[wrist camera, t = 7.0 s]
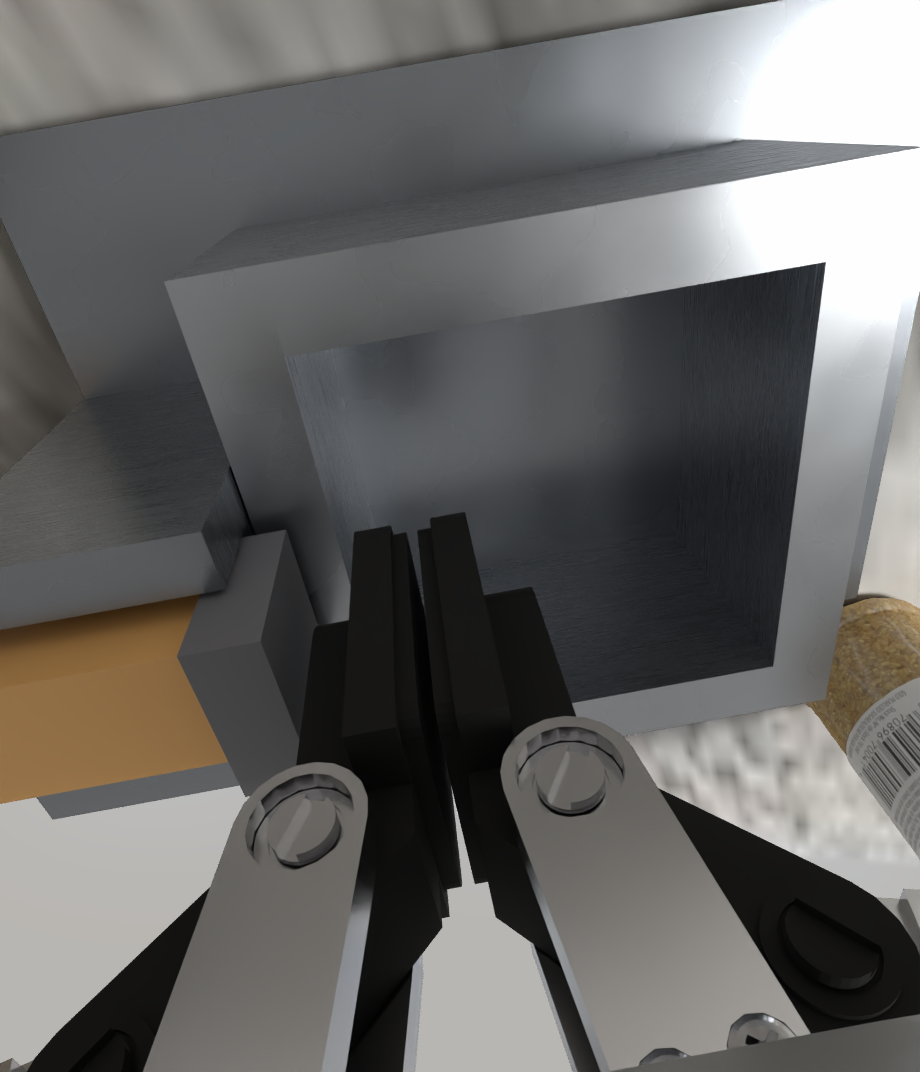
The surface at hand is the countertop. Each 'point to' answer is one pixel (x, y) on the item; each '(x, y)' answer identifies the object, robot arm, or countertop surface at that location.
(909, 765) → the sprinkles bottle
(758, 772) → the countertop surface
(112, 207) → the dock
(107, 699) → the lock bar
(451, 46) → the countertop surface
